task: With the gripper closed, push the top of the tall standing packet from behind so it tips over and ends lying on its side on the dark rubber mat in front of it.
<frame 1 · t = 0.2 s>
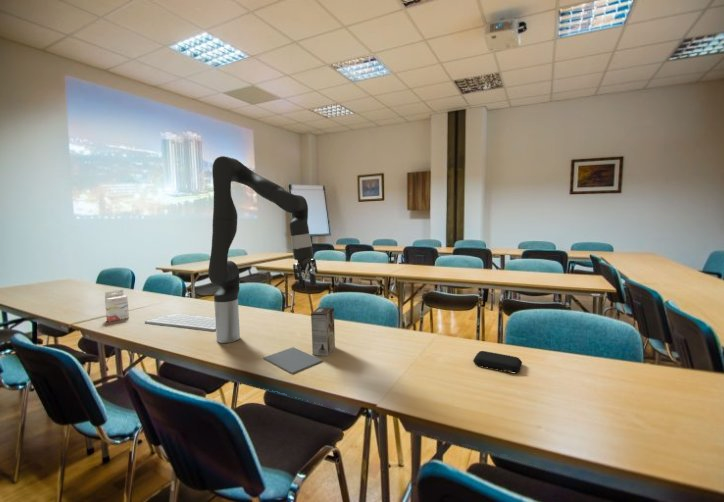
hand: (308, 287, 132), 24 cm above the table, tool pointing down, fingers open, 8 cm apart
carrying case or bag: (497, 367, 115), on the table
dark rubber mat: (292, 360, 122), on the table
ink cartridge box: (118, 319, 175), on the table
coffee box: (324, 351, 130), on the table
computer keyboard: (192, 323, 169), on the table
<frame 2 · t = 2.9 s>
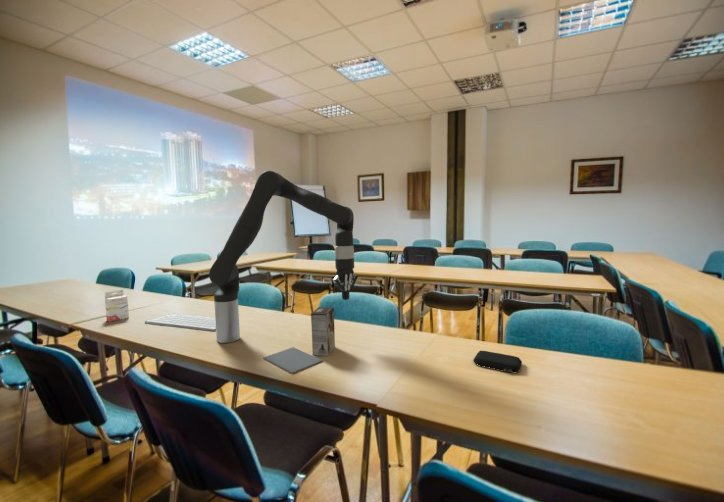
hand: (345, 299, 137), 18 cm above the table, tool pointing down, fingers closed
nothing on the table moved.
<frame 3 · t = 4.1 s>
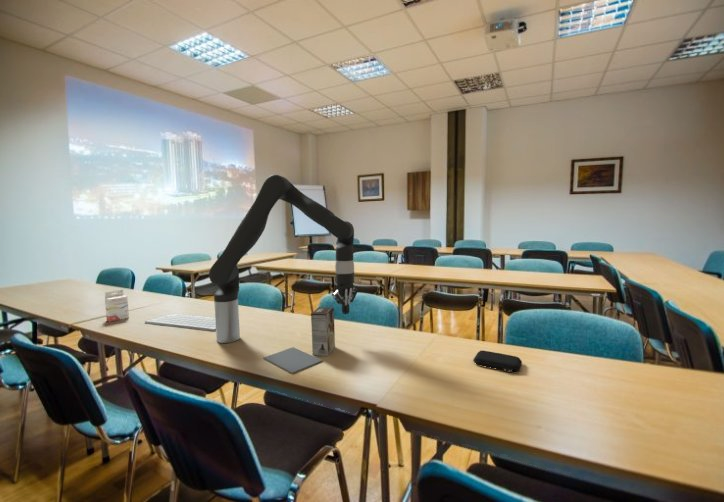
hand: (345, 313, 137), 12 cm above the table, tool pointing down, fingers closed
nothing on the table moved.
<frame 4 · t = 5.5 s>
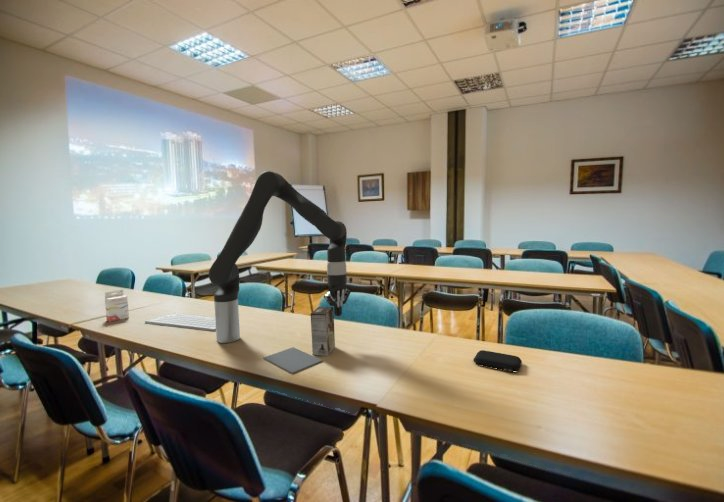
hand: (338, 315, 135), 12 cm above the table, tool pointing down, fingers closed
coffee box: (324, 351, 130), on the table, touching gripper
everything else where it was.
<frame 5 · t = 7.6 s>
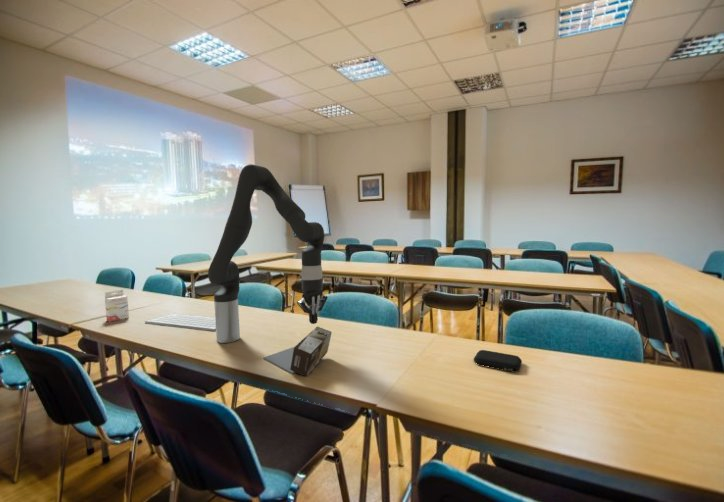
hand: (313, 323, 126), 12 cm above the table, tool pointing down, fingers closed
coffee box: (322, 339, 124), point 7 cm above the table
everything else where it was.
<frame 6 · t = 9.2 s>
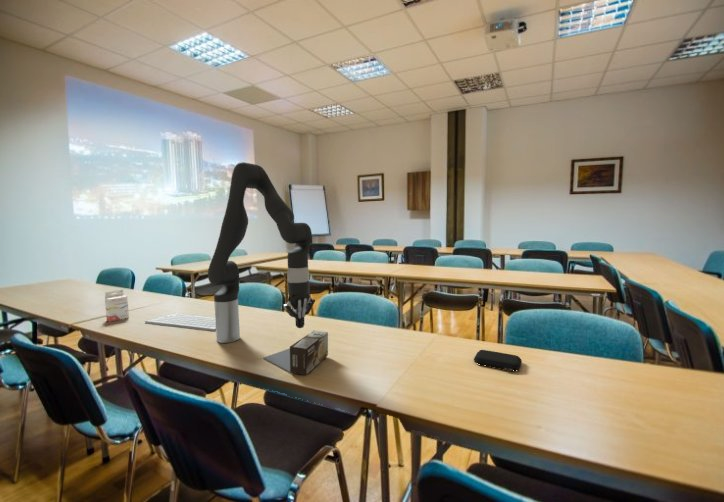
hand: (300, 327, 121), 12 cm above the table, tool pointing down, fingers closed
coffee box: (320, 342, 125), point 5 cm above the table, touching dark rubber mat
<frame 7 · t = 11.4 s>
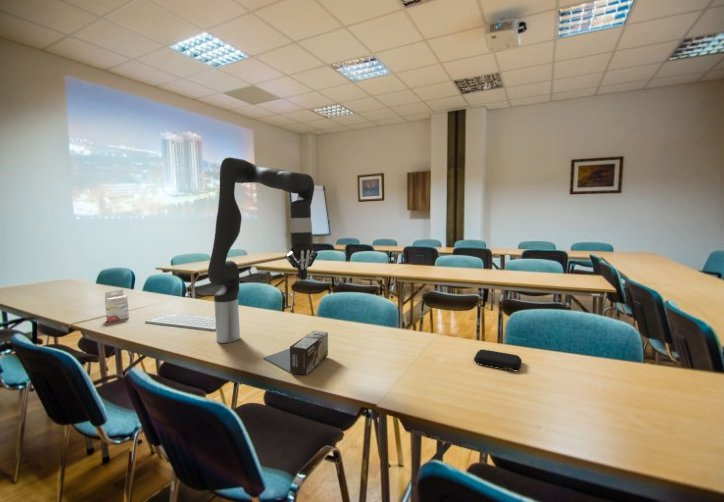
hand: (302, 279, 121), 29 cm above the table, tool pointing down, fingers closed
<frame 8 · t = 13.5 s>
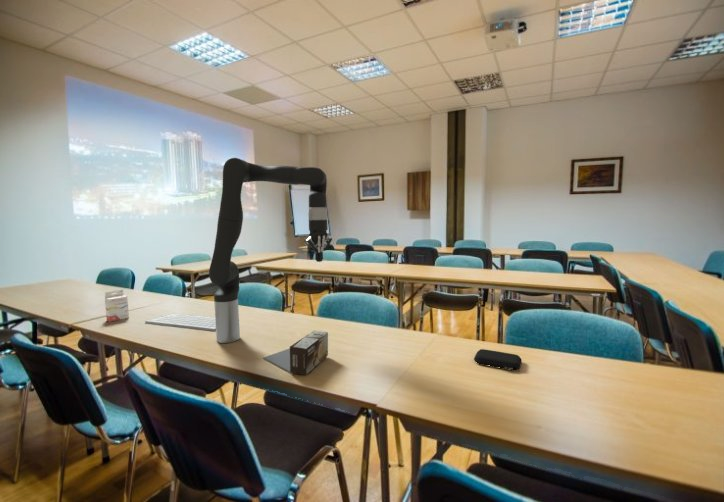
hand: (319, 261, 139), 33 cm above the table, tool pointing down, fingers closed
at the end: coffee box tilted 90°; coffee box inside the target area (2.7 cm from its centre), point 5.0 cm above the table; coffee box touching dark rubber mat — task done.
